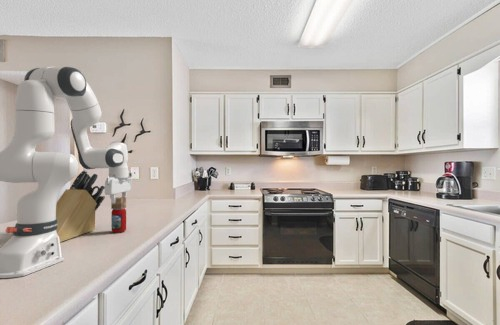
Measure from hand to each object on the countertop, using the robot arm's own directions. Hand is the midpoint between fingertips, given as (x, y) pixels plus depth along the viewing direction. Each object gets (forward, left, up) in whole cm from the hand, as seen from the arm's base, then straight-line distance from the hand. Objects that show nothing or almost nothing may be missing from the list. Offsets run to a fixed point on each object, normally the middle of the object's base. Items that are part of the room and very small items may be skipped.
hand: (118, 201), depth 143 cm
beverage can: (0, 0, -15) cm, 15 cm away
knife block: (-5, +20, -15) cm, 25 cm away
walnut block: (0, 0, -3) cm, 3 cm away
